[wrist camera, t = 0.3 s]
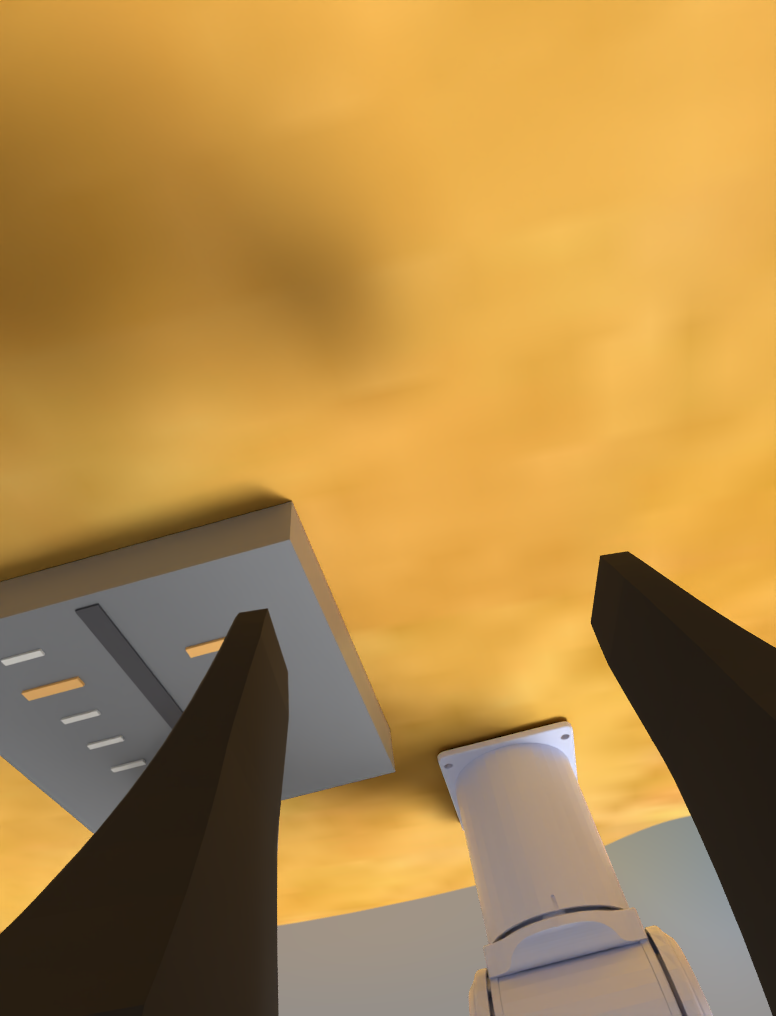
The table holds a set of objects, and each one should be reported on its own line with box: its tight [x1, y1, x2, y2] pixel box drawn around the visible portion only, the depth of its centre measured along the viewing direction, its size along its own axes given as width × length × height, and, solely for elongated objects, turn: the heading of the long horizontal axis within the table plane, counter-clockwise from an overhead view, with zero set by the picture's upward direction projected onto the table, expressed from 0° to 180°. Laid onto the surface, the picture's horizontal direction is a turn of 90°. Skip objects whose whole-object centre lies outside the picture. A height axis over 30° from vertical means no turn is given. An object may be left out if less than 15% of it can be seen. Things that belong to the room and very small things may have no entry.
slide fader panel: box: [0, 501, 395, 834], centre depth 26 cm, size 16×16×3 cm
